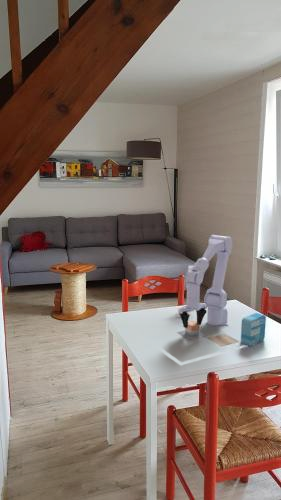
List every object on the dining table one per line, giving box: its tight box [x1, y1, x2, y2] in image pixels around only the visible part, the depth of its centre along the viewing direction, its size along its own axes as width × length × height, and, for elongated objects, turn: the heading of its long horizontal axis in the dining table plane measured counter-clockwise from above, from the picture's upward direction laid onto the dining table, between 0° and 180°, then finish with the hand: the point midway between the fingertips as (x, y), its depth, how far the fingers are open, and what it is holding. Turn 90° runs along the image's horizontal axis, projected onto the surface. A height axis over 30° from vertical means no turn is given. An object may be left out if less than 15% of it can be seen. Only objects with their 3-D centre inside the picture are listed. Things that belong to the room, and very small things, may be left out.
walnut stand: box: [207, 333, 241, 347], centre depth 181 cm, size 10×10×1 cm
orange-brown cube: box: [184, 320, 201, 337], centre depth 187 cm, size 5×5×5 cm
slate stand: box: [176, 330, 208, 341], centre depth 188 cm, size 10×10×1 cm
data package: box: [240, 312, 267, 347], centre depth 181 cm, size 12×4×12 cm, turn 131°
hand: (192, 325), depth 187 cm, fingers open, 7 cm apart
